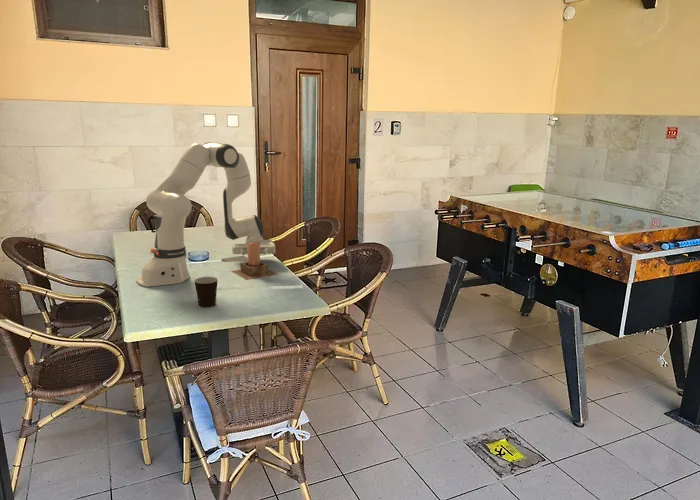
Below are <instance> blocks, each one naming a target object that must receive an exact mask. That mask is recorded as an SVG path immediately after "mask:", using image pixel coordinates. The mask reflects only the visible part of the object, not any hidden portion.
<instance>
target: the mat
mask: <svg viewBox="0 0 700 500" xmlns="http://www.w3.org/2000/svg"><path fill="white" fill-rule="evenodd" d="M221 261H222V262H224V263H232V262H234V263H235V262H236V263H237V262H248V256H246V255H238V256H231V257H230V256H229V257H225V258H221Z"/></svg>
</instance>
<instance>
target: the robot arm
mask: <svg viewBox="0 0 700 500" xmlns="http://www.w3.org/2000/svg"><path fill="white" fill-rule="evenodd" d="M207 166H210V167H214V168H222V169H224V172H225V177H226V181H227V183H226V187H225V188H224V189H223V192H222V202H223V216H224V225H223V229H224V235H225V237H226V238H228V239H229V240H232V241H234V240H237V239H240V238H244V237H246V238H245V242H244V243H235V244H233V245H232V248H231V250H232V254H233V255H241V256H246V255H248V252H247V243H248V242H260V255H270V254H272V255H274V254H276V244H275V243H274V242H273V240H272V239H271V238H270V239H269V238H263V235H264V228H263V227H264V226H263V222H262V220H261V218H260V217H258V216H257V215H256V214H251V215H247V216H243V217H239V218H238V217H237V218H234V217H233V205H232V204H233V203H234V201H235V200H236V199H238V198H239V197H240V196H242V195H244V194H245V193H246V192H248V190H249V189H250V187H251V186H252V178H251V173H250V170H249V167H248V163H247V161H246V158H245V156H244V155H243V154H242V153H240V152H238V151H237V149H236V148H235V147H234V146H233V145H231V144H228V143H222V142H216V141H215V142H204V143H203V144H202V143H196V142H195V143H193V144H192V143H191V145H190V146H189V147H188V148H187V149H186V151H185V152H183V154H182V156H181V157H180V159H179V160H178V162H177V164H176V165H175V167H174V168H173V170H172V172H170V174H169V176H168V177H167V178H166V179H165V180H164V181H163V182H161V184H160V185H159V186H158V187H157V188H155V189H154V190H152V191H151V192H149V193H148V194H147V196H146V199H145V201H146V206H147V208H148V209H149V210H151V212H152V213H155V215H157V214H159V215H162V221H161V225H160V227H159V228H158V230H157V238H158V247H156V249H155V247H154V248H150V253H151V254H153V257H152V258H151V259H150V260H149V261H148V262H147V263H145V264H144V265H143V266H142V268H141V275H140V276H138V277H136V278H135V279H136V283H137V284H139V285H140V286H142V287H145V288H146V287H148V288H149V287H150V288H151V287H158V286H165V285H174V284H182V283H184V282H185V281H186V280H189V279H190V277H191V276H190V275H191V274H190V272H189V269H188V263H187V249H186V246H185V224H186V221H187V220H186V219H187V217H188V216H189V215H190V214H191V211H192V210H193V209H192V208H193V207H192V205H193V204H192V202H191V200H190V199H189V197H187V196H185V194H187V193H188V192H189V191H191V190H193V189H194V188H195V186H196V185H197V183H198V182H199V180H200V178H201V176H202V174H203V173H204V171H205V169H206V168H207Z"/></svg>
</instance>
